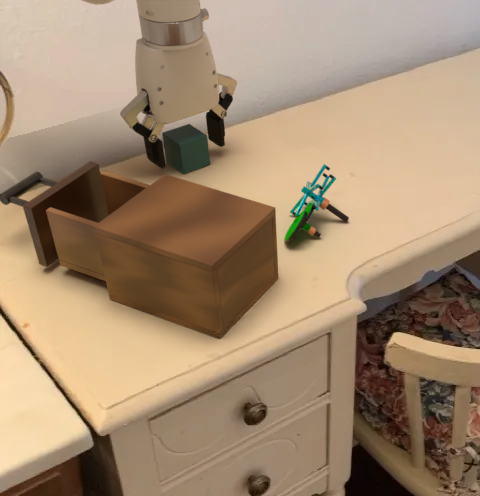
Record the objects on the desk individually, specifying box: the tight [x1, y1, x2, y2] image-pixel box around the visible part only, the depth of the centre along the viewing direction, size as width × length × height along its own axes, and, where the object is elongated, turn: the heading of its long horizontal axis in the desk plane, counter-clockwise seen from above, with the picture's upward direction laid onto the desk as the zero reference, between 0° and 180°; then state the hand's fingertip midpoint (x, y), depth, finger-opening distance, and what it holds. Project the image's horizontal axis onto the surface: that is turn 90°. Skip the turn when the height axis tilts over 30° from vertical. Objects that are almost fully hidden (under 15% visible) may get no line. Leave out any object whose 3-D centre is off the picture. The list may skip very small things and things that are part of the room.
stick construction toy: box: [284, 163, 350, 243], centre depth 106 cm, size 12×7×8 cm
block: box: [161, 123, 211, 175], centre depth 115 cm, size 4×4×4 cm
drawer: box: [0, 161, 150, 282], centre depth 97 cm, size 20×11×8 cm, turn 65°
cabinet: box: [94, 173, 280, 340], centre depth 93 cm, size 15×13×10 cm
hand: (187, 153), depth 116 cm, fingers open, 9 cm apart
